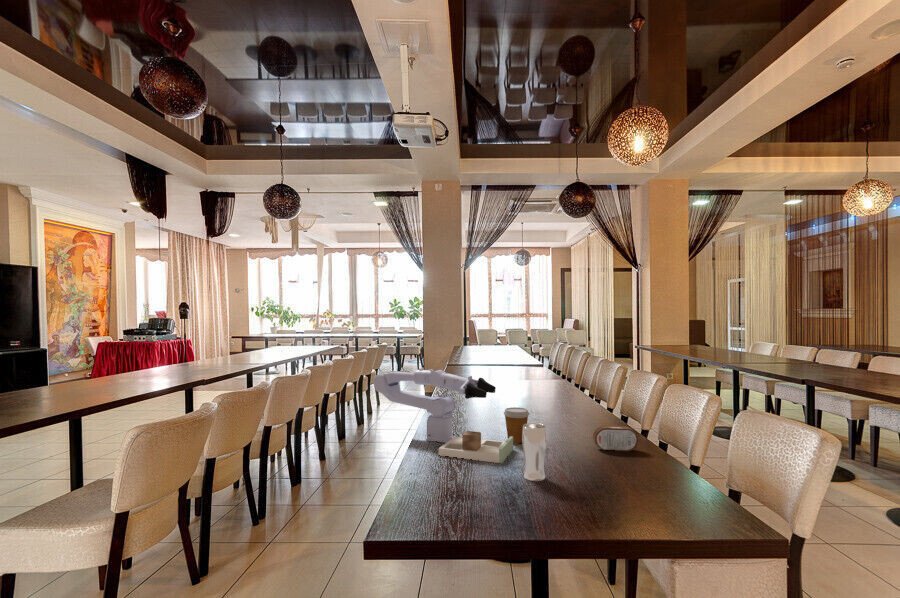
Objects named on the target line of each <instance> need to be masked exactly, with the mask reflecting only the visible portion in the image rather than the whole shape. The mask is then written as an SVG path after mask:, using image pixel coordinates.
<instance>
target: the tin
mask: <svg viewBox="0 0 900 598" xmlns="http://www.w3.org/2000/svg"><path fill="white" fill-rule="evenodd" d="M592 440H593V442H594V444H595V445H596V446H597V448H598V449H600V450H602V451H605V450H615V451H614V452H631V451H633V450H635V449H636V447H638V445H639V437H638V434H637V433H636V432H635V430H634V429H633V428H632V427H629V426H626V425H625V426H624V425H623V426H622V425H620V426H619V425H600V426H598V427H597V428H596V429H595V431H594V432H593V435H592Z"/></svg>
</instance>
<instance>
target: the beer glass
mask: <svg viewBox="0 0 900 598" xmlns="http://www.w3.org/2000/svg"><path fill="white" fill-rule="evenodd" d="M521 445H522V450H523V457H524V464H525V465H524V466H525V467H524V474H523V478H524V479H525V480H527V481H530V482H542V481H544V480H545V479H546V474H545V468H544V466H545V465H544V463H545V457H546V450H547V431H546V425H544V424H541V423H534V422H531V423H528V422H527V424H524V425H523V433H522V444H521Z"/></svg>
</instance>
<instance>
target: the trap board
mask: <svg viewBox="0 0 900 598" xmlns="http://www.w3.org/2000/svg"><path fill="white" fill-rule="evenodd" d="M511 451H514V444H513V437H511V436H510V437H509V438H508V437H507V439H506V440H505V441H504V440H503V441H502V440H493V439H482V438H481V448H479V449H478V450H477V451H471V450H462V436H456V437H453V438H452V439H451V440H449V441H448V442H447V443H446V442H444V444H443V445H441V446H440V447H439V448H438V456H439V455H440V456H439V457H445V456H449V457H448V458H453V457H457V458H456V459H461V458H464V459H463V460H470V459H472V460H473V461H478V460H479V461H480V462H489V463H495V464H503V463H504V462H505V460H506V459H507V458H508V457H509V456H510V455H511V453H512V452H511ZM507 456H508V457H507ZM472 460H471V461H472Z"/></svg>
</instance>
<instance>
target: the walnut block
mask: <svg viewBox="0 0 900 598" xmlns="http://www.w3.org/2000/svg"><path fill="white" fill-rule="evenodd" d="M461 437H462V450H471V451H477V450H478V449H479V448H481V439H482V432H481V431H471V430H466V431H465V432H464V433H463V434H462V435H461Z"/></svg>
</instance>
